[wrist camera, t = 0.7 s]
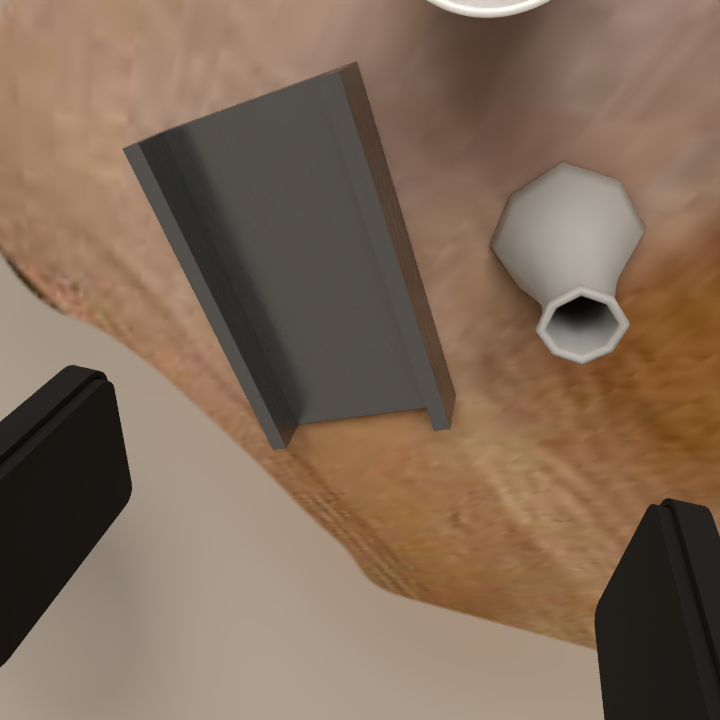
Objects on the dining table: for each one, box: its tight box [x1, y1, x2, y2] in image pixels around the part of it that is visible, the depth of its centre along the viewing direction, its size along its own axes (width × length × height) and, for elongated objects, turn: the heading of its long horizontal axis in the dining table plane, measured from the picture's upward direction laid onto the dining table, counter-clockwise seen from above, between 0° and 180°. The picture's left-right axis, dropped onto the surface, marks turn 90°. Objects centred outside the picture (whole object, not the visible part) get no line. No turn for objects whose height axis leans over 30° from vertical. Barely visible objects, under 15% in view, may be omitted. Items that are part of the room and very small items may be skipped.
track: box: [123, 62, 455, 450], centre depth 34 cm, size 20×12×4 cm, turn 19°
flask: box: [490, 162, 646, 365], centre depth 27 cm, size 7×7×10 cm
